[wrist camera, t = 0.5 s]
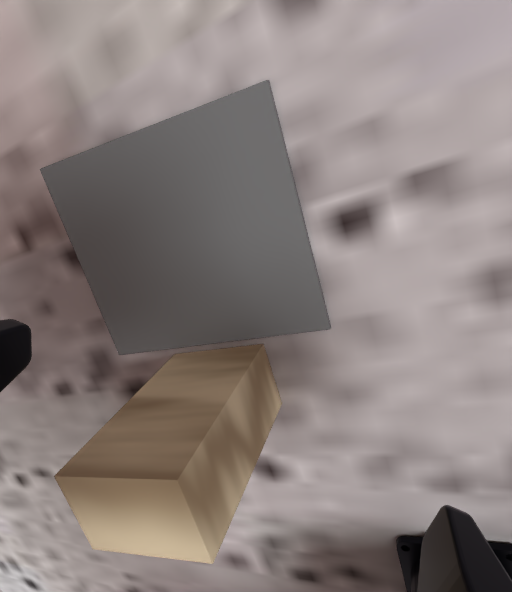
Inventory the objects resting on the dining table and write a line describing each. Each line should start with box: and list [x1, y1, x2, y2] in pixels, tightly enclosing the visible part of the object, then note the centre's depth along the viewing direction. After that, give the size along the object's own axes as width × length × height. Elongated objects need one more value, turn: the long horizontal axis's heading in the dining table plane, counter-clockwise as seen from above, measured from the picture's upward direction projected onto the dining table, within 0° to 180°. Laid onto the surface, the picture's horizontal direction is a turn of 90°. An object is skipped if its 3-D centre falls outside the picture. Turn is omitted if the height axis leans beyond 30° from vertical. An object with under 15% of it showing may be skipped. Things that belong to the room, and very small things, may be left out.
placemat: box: [40, 80, 331, 355], centre depth 22 cm, size 12×14×1 cm
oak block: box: [54, 344, 282, 564], centre depth 20 cm, size 4×6×10 cm, turn 107°
